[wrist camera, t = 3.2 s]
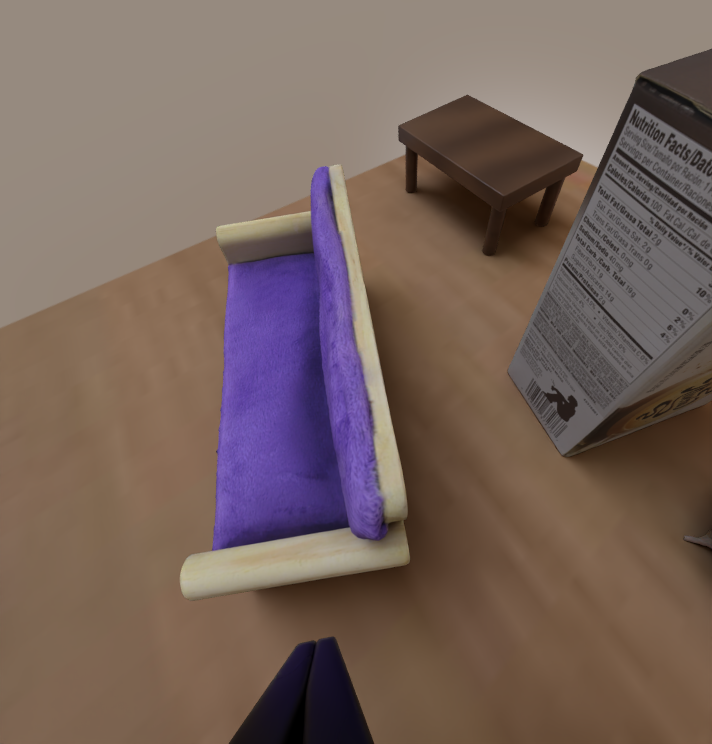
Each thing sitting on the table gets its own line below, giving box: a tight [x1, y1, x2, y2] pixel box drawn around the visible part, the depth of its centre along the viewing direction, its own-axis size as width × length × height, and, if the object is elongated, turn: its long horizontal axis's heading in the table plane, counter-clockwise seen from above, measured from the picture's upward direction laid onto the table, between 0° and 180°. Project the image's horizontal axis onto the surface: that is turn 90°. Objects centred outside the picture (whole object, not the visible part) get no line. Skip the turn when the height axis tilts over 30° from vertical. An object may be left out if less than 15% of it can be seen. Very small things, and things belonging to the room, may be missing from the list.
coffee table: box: [398, 95, 583, 255], centre depth 30 cm, size 12×7×6 cm, turn 31°
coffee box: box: [508, 49, 712, 457], centre depth 16 cm, size 9×6×16 cm
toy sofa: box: [180, 165, 410, 601], centre depth 20 cm, size 21×9×10 cm, turn 7°
